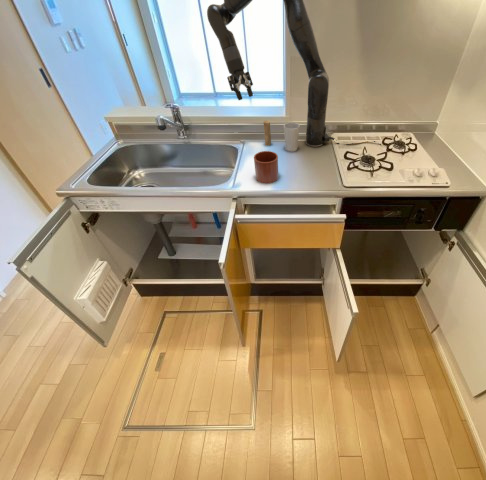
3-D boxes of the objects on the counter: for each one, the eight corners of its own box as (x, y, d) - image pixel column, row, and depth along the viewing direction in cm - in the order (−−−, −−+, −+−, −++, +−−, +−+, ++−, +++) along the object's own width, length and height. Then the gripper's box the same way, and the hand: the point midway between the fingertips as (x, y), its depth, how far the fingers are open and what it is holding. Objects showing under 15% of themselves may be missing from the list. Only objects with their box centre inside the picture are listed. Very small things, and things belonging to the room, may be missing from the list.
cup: (281, 150, 137) (280, 127, 129) (287, 143, 142) (287, 121, 134) (295, 153, 135) (295, 130, 126) (301, 146, 140) (302, 123, 131)
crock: (275, 169, 124) (275, 149, 117) (280, 181, 118) (280, 161, 110) (254, 172, 123) (252, 152, 116) (258, 184, 116) (255, 164, 109)
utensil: (270, 142, 143) (269, 120, 135) (271, 145, 141) (270, 122, 133) (264, 143, 143) (263, 120, 134) (265, 146, 141) (264, 123, 132)
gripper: (229, 58, 115) (242, 99, 123) (248, 55, 124) (260, 93, 132) (217, 64, 119) (231, 103, 127) (237, 61, 129) (249, 97, 136)
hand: (246, 98), depth 130 cm, fingers open, 8 cm apart
